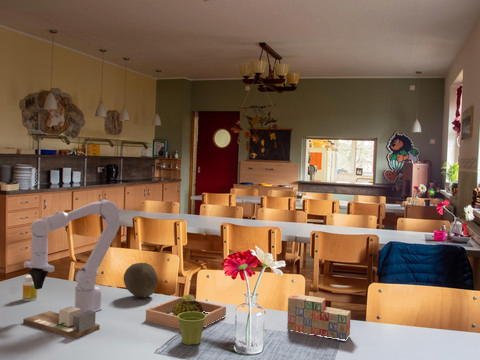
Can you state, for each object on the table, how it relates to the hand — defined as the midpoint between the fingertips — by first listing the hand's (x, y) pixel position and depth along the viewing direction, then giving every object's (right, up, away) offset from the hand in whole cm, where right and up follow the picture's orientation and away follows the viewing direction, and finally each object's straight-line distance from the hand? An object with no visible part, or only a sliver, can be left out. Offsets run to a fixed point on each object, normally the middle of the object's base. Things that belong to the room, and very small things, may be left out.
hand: (38, 288), depth 174 cm
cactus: (+55, -13, +2) cm, 56 cm away
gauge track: (+12, -11, -9) cm, 18 cm away
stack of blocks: (+102, -15, -7) cm, 104 cm away
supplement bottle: (-13, -10, +21) cm, 26 cm away
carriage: (+15, -9, -12) cm, 21 cm away
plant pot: (+59, -13, -19) cm, 63 cm away
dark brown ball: (+32, -11, +30) cm, 44 cm away
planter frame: (+54, -12, +4) cm, 56 cm away
